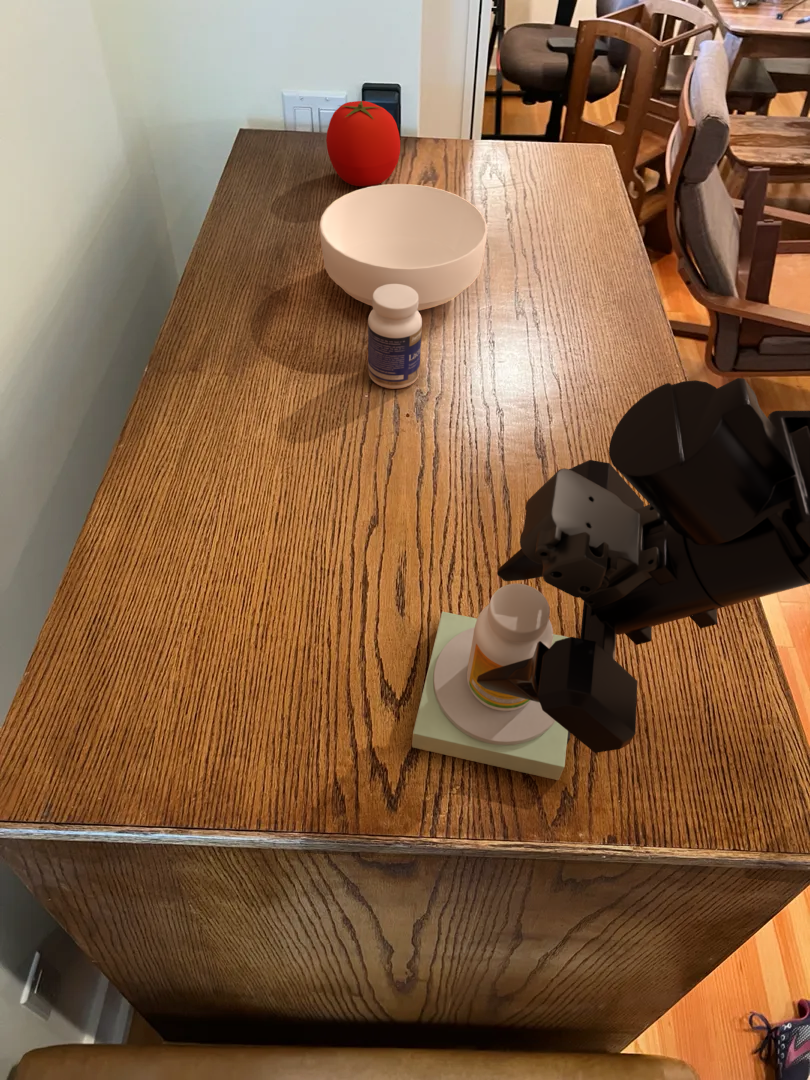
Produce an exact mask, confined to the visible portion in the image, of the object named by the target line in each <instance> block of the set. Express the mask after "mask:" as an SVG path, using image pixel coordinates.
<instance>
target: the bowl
mask: <svg viewBox="0 0 810 1080" xmlns="http://www.w3.org/2000/svg"><path fill="white" fill-rule="evenodd" d="M319 235H320V246H321V252H322V259H323V266H324V269H325V271H326V273H327V274H328V276H329V278H330V279H331V280H332V281H333V282H334V283H335V284H336V285H338V287H340V288H341V289H342V290H343V291H344V292H345V293H346V294H347V295H349V296H350V297H352V298H353V299H354V300H357V301H359V302H361V303H363V304H365V305H368V306H371V307H373V306H372V301H373V293H374V291H375V290H376V289H377V288H379V287H381V286H383V285H388V284H402V285H406V286H409V287H411V288H413V289H414V290H415V291H416V292H417V294H418V309H417V310H418V312H419V311H423V310H428V309H432V308H435V307H437V306H441V305H443V304H446V303H449V302H450V301H452V300H454V299H455V298H456V297H458V296H459V295H460V294H461V293H463V291H465V290H466V289H468V288H469V287H470V286H471V285H472V284H474V282H476V280H477V278H478V277H479V276H480V273H481V270H482V267H483V262H484V256H485V252H486V246H487V238H488V224H487V222H486V219H485V217H484V214H483V213H482V212H481V211H480V210H479V208H477V206H475V204H473V203H471V202H470V201H468V200H467V199H465V198H463V197H462V196H460V195H458V194H456V193H454V192H450V191H447V190H445V189H441V188H436V187H432V186H428V185H422V184H410V183H389V184H387V183H386V184H377V185H371V186H366V187H363V188H360V189H356V190H353V191H351V192H349V193H346V194H344V195H342V196H340V197H339V198H337V199H335V200H333V202H331V204H329V205H328V206H327V207H326V208H325V210H324V211H323V213H322V215H321V217H320V222H319Z"/></svg>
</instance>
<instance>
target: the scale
mask: <svg viewBox="0 0 810 1080" xmlns="http://www.w3.org/2000/svg"><path fill="white" fill-rule="evenodd" d="M477 618H478V617H477ZM477 618H476V617H471V616H467V615H462V614H456V613H451V612H447V611H441V614H440V618H439V621H438V626H437V631H436V634H435V639H434V643H433V647H432V651H431V656H430V659H429V664H428V668H427V673H426V676H425V681H424V684H423V690H422V693H421V698H420V702H419V704H418V705H419V706H418V710H417V714H416V719H415V722H414V727H413V731H412V739H411V747H412V748H413V749H418V750H423V751H426V752H431V753H435V754H440V755H445V756H448V757H453V758H458V759H462V760H467V761H471V762H475V763H478V764H479V763H480V764H483V765H484V764H485V765H489V766H493V767H498V768H502V769H507V770H510V771H515V772H519V773H525V774H529V775H533V776H538V777H541V778H547V779H550V780H556V781H559V780H560V778H561V776H562V774H563V772H564V769H565V767H566V758H567V757H566V756H567V747H568V744H569V742H570V739H571V733H570V732H569V731H567V730H566V729H565V728H564V727H562V726H561V725H560V724H559V723H558V722H556V721H555V720H554V719H553V718H551V717H550V716H549V715H548V714H547V713H545V712H544V711H543V710H542V707H541V705H540V703H539V702H535V701H532V700H531V701H530V702H529V703H528V704H526V705H525V706H523V707H521V708H519V709H516V710H511V711H501V710H496V709H492V708H490V707H487V706H486V705H484V704H483V703H481V702H480V701H479V700H478V699H477V698H476V697H475V696H474V695H473V693H472V692H471V690H470V688H469V685H468V681H467V669H468V663H469V657H470V652H471V646H472V640H473V635H474V629H475V624H476V621H477ZM569 637H570V636H565V635H560V634H555V633H553V641H552V645H553V644H554V643H555V641H558V640H562V639H565V638H569ZM552 645H551V646H552Z"/></svg>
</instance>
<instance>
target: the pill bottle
mask: <svg viewBox="0 0 810 1080" xmlns="http://www.w3.org/2000/svg"><path fill="white" fill-rule="evenodd" d="M371 307H372V310H371V311H370V313H369V315H368V318H367V371H368V376H369V379H370V380H371V381H372V382H374V383H375V384H376V385H378V386H379V387H382V388H385V389H392V390H394V389H395V390H396V389H403V388H406V387H407V388H408V387H409V386H411V385H412V384H414V383H415V382H416V381H417V380H418V379H419V376H420V372H421V371H420V369H421V351H422V350H421V349H422V335H423V334H422V331H423V318H422V315H421V313H420V312H419V311H418V310H417V309H418V294H417V292H416V291H415V290H414V289H413V288H411V287H409V286H406V285H402V284H388V285H383V286H381V287H379V288H377V289H376V290H375V291H374V293H373V301H372V306H371Z"/></svg>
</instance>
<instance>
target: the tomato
mask: <svg viewBox="0 0 810 1080" xmlns="http://www.w3.org/2000/svg"><path fill="white" fill-rule="evenodd" d="M325 140H326V141H325V142H326V151H327V154H328V158H329V161H330V163H331V166H332V168H333V170H334V171H335V173H336V174H337V175H338V177H339V178H340V179H341V180H343V181H344V182H345V183H346V184H348V185H351V186H354V187H372V186H378V185H381V184H382V183H384V182H385V181H387V180H388V179H389V178H390V177H391V175H392V174H393V173H394V171H395V169H396V168H397V165H398V163H399V160H400V159H399V158H400V154H401V137H400V131H399V129H398V125H397V122H396V119H395V118H394V117H393V115H392V114H391V113H390V112H389V111H387V109H385V108H384V107H383V106H380V105H377V104H376V103H373V102H371V101H365V100H355V101H348V102H345V103H343V104H342V105H337V108H336V110H335V111H334V112H333V114H332V115H331V118H330V119H329V122H328V127H327V131H326V139H325Z"/></svg>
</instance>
